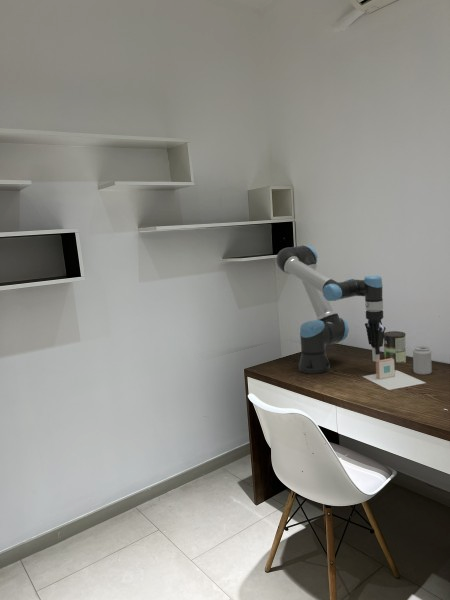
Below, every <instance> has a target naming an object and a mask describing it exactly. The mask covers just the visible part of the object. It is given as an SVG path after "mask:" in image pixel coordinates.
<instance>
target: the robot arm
mask: <svg viewBox="0 0 450 600" xmlns="http://www.w3.org/2000/svg"><path fill="white" fill-rule="evenodd" d="M318 258H319V257H318V254H317V251H316V250H315V248H313V247H312V246H310V245H299V246H291V247H285V248H282V249H281V250H279V252H278V253H277V256H276V265H277V267H278V268H279V270H281V271H282V272H283V273H285V274H287V275H292V276H294V277H296V278H298V280H300V281H302V284H303V286H304V289H305V291H306V294H307V297H308V298H309V300H310V303H311V306H312V308H313V310H314V313H315V316H316V320H309V321H306V322H304V323H302V324H301V325H300V326H299V327H300V331H299V336H300V349H301V355H300V360H299V361H298V362H299V363H298V371H299V372H301V373H305V374H309V375H317V374H324V373H328V372H329V371H330V370H331V364H330V361H329V359H328V357H327V356H328V355H327V352H326V346H329V345H332V344H338V343H340V342H343V341H344V340H345V339H347V337H348V334H349V324H348V322H347V321H346V319H344V318H342V317H340V316H339V313H338V312H336V311H334V310H333V308H332V305H331V303H330V302H332V301H339V300H343V299H348V298H354V297H364V301H365V304H364V305H365V310H366V311H365V319H366V320H367V322H365V323H364V326H365V329H366V330H365V331H366V336H367V340H368V344H369V345H370V346H371V353H372V354H371V355H372V362H375V363H376V361H377V360H381V359H380V358H381V355H380V353H381V352H380V350H381V347H384V333H385V331H386V327H385V326H383V323H382V320H383V318H384V300H383V299H384V298H383V278H382V276H380V275H365V276H364V279H355V278H350V279H345V280H344V281H340V282H339V281H336V280H334V279H333V278H330V277H329V276H326V275H325V274H323V273H322V272H320V271H318V270H316V269H317V267H318V266H317V263H318Z"/></svg>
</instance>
